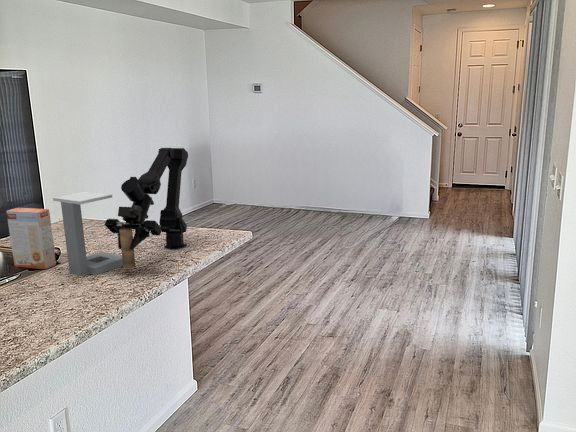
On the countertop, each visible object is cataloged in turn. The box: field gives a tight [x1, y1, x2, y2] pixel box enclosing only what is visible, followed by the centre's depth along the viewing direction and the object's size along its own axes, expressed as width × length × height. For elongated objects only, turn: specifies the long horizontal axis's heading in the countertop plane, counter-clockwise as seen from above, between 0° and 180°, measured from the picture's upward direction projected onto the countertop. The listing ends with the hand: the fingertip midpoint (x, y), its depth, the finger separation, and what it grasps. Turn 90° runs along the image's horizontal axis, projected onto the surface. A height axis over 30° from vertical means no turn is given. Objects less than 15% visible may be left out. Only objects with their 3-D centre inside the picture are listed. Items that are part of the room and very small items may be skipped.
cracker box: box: [6, 207, 57, 270], centre depth 186 cm, size 14×6×21 cm, turn 71°
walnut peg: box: [119, 228, 136, 270], centre depth 175 cm, size 4×4×13 cm
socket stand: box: [52, 191, 123, 277], centre depth 183 cm, size 17×14×26 cm
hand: (125, 249), depth 174 cm, fingers closed on walnut peg, 4 cm apart
